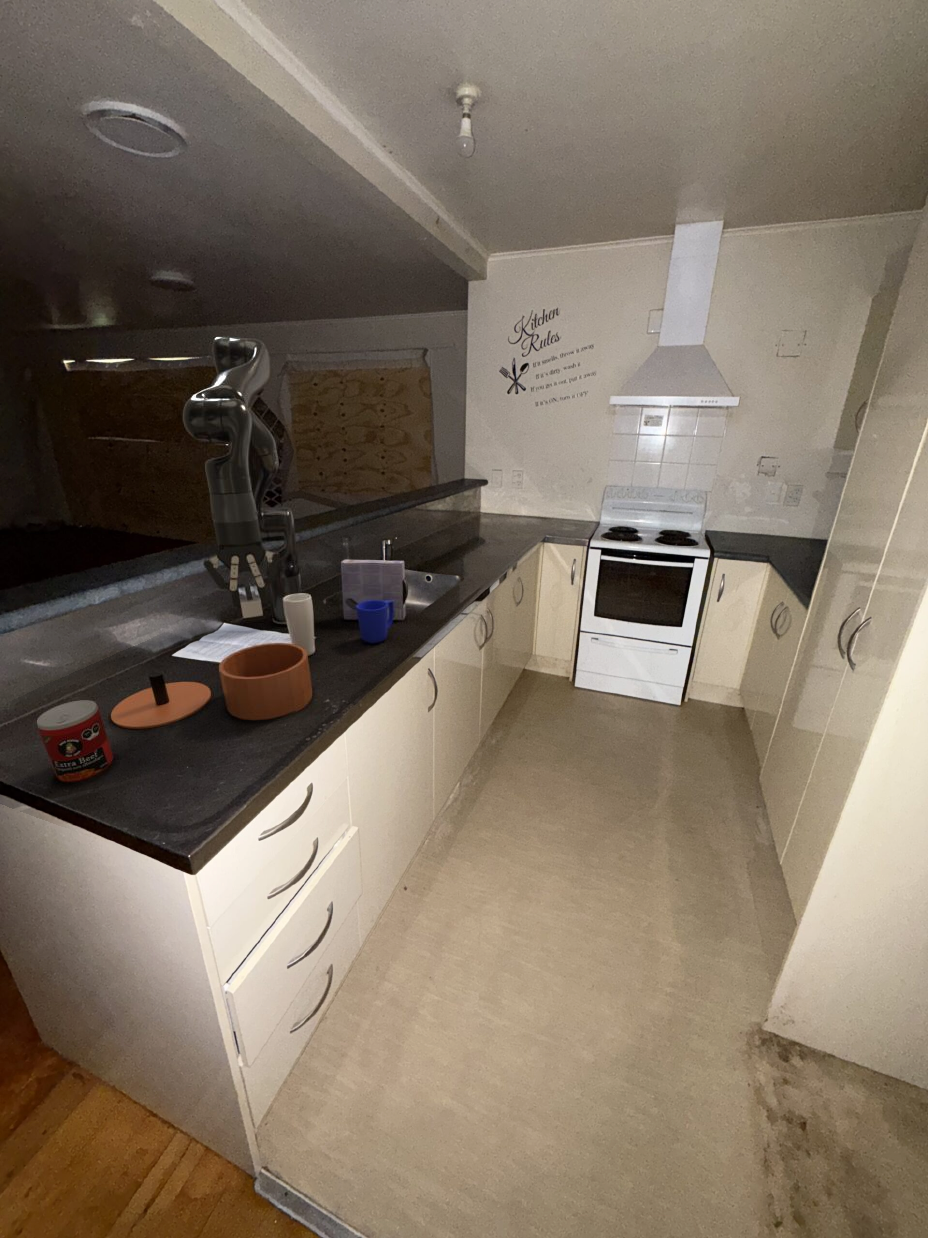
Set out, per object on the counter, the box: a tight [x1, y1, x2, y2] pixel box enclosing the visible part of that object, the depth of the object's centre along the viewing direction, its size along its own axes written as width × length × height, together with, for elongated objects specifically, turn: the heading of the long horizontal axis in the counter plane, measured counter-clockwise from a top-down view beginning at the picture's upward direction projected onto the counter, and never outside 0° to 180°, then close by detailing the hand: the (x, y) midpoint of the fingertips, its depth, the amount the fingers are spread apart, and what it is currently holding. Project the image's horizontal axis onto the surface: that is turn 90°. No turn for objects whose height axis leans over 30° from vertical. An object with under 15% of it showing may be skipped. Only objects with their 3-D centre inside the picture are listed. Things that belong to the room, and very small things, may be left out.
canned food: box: [36, 699, 114, 783], centre depth 79 cm, size 8×8×11 cm
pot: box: [218, 642, 313, 721], centre depth 100 cm, size 17×17×10 cm
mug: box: [356, 600, 394, 644], centre depth 131 cm, size 8×12×10 cm
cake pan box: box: [340, 559, 409, 621], centre depth 143 cm, size 19×5×18 cm, turn 89°
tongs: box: [237, 582, 264, 619], centre depth 94 cm, size 13×4×3 cm, turn 26°
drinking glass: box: [283, 592, 316, 657], centre depth 120 cm, size 7×7×15 cm
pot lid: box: [110, 671, 212, 730], centre depth 98 cm, size 18×18×8 cm
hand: (250, 605), depth 95 cm, fingers closed on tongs, 3 cm apart
